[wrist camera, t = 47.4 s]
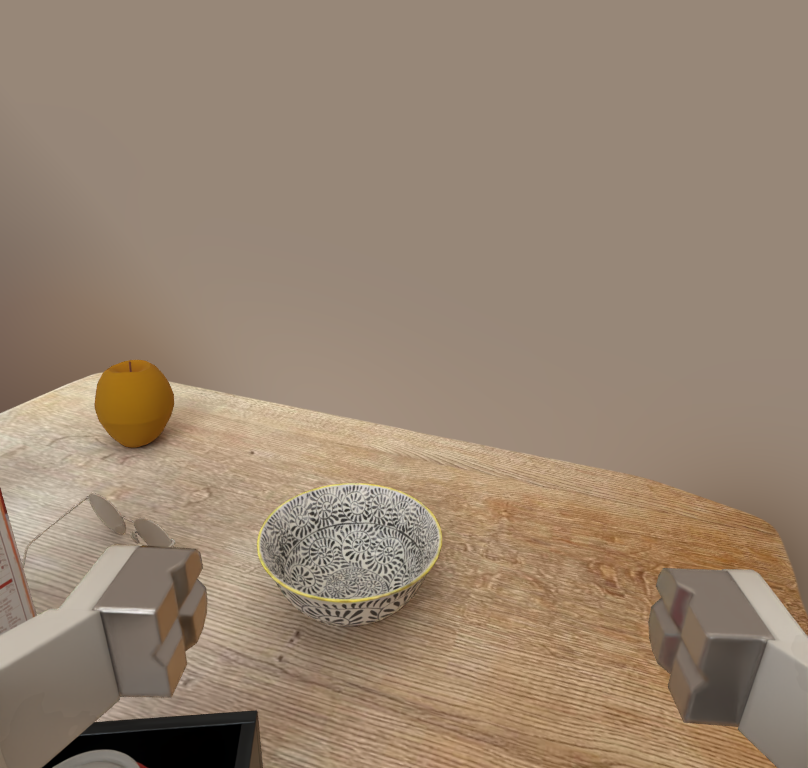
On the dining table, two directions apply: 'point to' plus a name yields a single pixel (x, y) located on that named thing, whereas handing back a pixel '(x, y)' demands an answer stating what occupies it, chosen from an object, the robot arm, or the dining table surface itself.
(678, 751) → the dining table surface
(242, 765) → the black open box
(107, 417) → the apple
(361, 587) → the bowl
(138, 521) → the sunglasses
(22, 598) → the cracker box
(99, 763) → the beverage can
